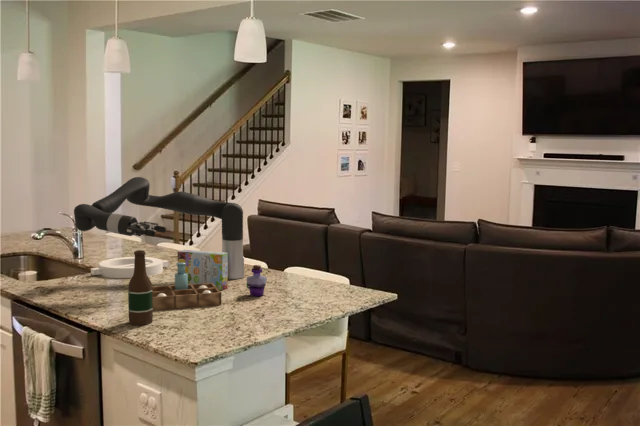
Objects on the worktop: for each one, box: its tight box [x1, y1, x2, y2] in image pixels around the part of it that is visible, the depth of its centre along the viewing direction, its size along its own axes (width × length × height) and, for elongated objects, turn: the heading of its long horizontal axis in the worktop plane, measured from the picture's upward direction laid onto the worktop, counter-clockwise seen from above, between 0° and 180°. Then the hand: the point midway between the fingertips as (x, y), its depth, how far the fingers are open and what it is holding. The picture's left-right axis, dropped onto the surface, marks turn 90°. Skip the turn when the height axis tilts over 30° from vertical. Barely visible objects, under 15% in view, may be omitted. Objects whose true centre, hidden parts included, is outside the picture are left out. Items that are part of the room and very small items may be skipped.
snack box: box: [177, 249, 229, 291], centre depth 248 cm, size 21×6×15 cm, turn 71°
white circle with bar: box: [90, 256, 170, 279], centre depth 277 cm, size 28×28×5 cm
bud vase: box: [174, 262, 188, 290], centre depth 228 cm, size 5×5×13 cm
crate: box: [152, 283, 222, 311], centre depth 225 cm, size 25×17×5 cm
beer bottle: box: [127, 249, 154, 327], centre depth 196 cm, size 8×8×24 cm
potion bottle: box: [246, 264, 268, 298], centre depth 236 cm, size 9×9×12 cm
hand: (160, 231), depth 229 cm, fingers open, 8 cm apart
